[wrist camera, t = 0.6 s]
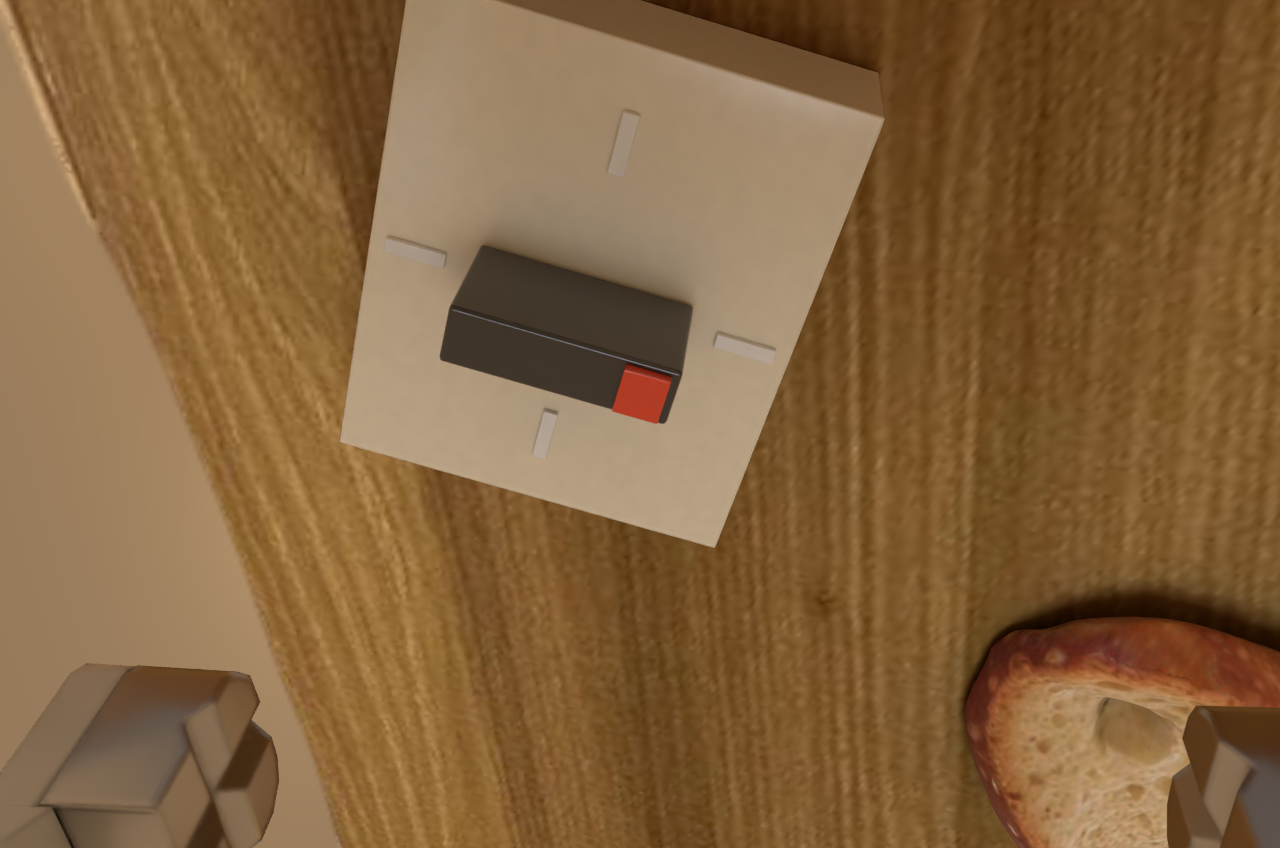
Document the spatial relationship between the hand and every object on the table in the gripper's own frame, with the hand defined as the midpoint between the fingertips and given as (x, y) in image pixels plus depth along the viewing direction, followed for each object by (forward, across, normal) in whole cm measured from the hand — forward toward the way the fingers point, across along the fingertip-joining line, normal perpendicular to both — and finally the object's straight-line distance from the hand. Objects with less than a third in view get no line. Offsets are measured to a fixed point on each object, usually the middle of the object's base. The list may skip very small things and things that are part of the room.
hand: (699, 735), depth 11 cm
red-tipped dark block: (+17, +4, +5) cm, 18 cm away
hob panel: (+20, +4, +4) cm, 21 cm away
